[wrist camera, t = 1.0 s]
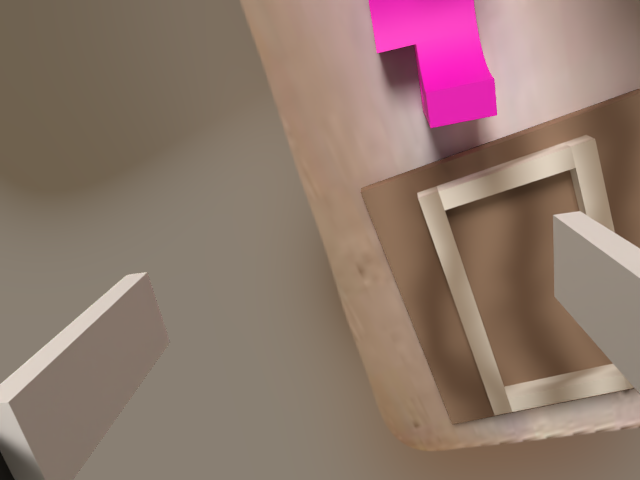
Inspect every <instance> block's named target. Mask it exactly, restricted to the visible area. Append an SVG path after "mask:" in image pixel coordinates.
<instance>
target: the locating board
mask: <svg viewBox="0 0 640 480" xmlns="http://www.w3.org/2000/svg"><path fill="white" fill-rule="evenodd" d="M361 194H362V197H363V199H364V202H365V204H366V207H367V209H368V212H369V214H370V217H371V220H372V222H373V225H374V227H375V230H376V232H377V235H378V237H379V240H380V242H381V245H382V247H383V250H384V252H385V255H386V258H387V260H388V263H389V265H390V268H391V270H392V273H393V275H394V278H395V280H396V283H397V285H398V288H399V290H400V293H401V296H402V298H403V301H404V303H405V306H406V308H407V311H408V313H409V316H410V318H411V321H412V323H413V326H414V329H415V331H416V334H417V336H418V339H419V341H420V344H421V346H422V349H423V351H424V354H425V356H426V359H427V361H428V364H429V367H430V369H431V372H432V374H433V377H434V379H435V382H436V384H437V387H438V389H439V392H440V394H441V397H442V399H443V402H444V405H445V407H446V410H447V412H448V415H449V417H450V420H451V422H452V424H457V423H462V422H467V421H472V420H477V419H482V418H487V417H492V416H497V415H502V414H508V413H513V412H518V411H523V410H528V409H533V408H538V407H543V406H548V405H553V404H558V403H563V402H568V401H573V400H578V399H584V398H589V397H594V396H599V395H604V394H609V393H614V392H619V391H624V390H629V389H634V387H633V386H632V385H631V383H630V382H629V381H628V380H627V379H626V378H625V377H624V375H623V374H622V373H621V372H620V371H619V370H618V369H617V367H616V366H615V365H614V364H613V363H612V362H611V361H610V359H609V358H608V357H607V356H606V355H605V354H604V353H603V351H602V350H601V349H600V348H599V347H598V346H597V345H596V343H595V342H594V341H593V340H592V339H591V338H590V337H589V335H588V334H587V333H586V332H585V331H584V330H583V329H582V327H581V326H580V325H579V324H578V323H577V322H576V321H575V319H574V318H573V317H572V316H571V315H570V314H569V313H568V311H567V310H566V309H565V308H564V307H563V306H562V305H561V303H560V302H559V301H558V300H557V299H556V298H555V297H554V242H553V215H556V214H563V213H570V212H577V211H581V212H582V213H584V214H585V215H587V216H589V217H590V218H592V219H593V220H595V221H597V222H598V223H600V224H601V225H603V226H605V227H606V228H608V229H609V230H611V231H613V232H614V233H616V234H617V235H619V236H621V237H622V238H624V239H625V240H627V241H629V242H630V243H632V244H633V245H635V246H637V247H638V248H640V89H637V90H635V91H632V92H629V93H626V94H623V95H621V96H618V97H615V98H612V99H609V100H607V101H604V102H601V103H598V104H595V105H593V106H590V107H587V108H584V109H581V110H579V111H576V112H573V113H570V114H567V115H565V116H562V117H559V118H556V119H553V120H551V121H548V122H545V123H542V124H539V125H537V126H534V127H531V128H528V129H525V130H523V131H520V132H517V133H514V134H511V135H509V136H506V137H503V138H500V139H497V140H495V141H492V142H489V143H486V144H483V145H481V146H478V147H475V148H472V149H469V150H467V151H464V152H461V153H458V154H455V155H453V156H450V157H447V158H444V159H441V160H439V161H436V162H433V163H430V164H427V165H425V166H422V167H419V168H416V169H413V170H411V171H408V172H405V173H402V174H399V175H397V176H394V177H391V178H388V179H386V180H383V181H380V182H377V183H374V184H372V185H369V186H366V187H363V188H362V189H361Z"/></svg>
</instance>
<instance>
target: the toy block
mask: <svg viewBox="0 0 640 480" xmlns="http://www.w3.org/2000/svg"><path fill="white" fill-rule="evenodd" d="M369 6H370V12H371V18H372V24H373V30H374V37H375V43H376V50H377V53H381V52H385V51H389V50H393V49H398V48H402V47H406V46H410V45H414V47H415V55H416V62H417V69H418V76H419V84H420V91H421V98H422V106H423V112H424V114H425V116H426V119H427V121H428V123H429V126H430V128H434V127H439V126H444V125H449V124H454V123H460V122H465V121H470V120H475V119H480V118H485V117H490V116H495V115H497V107H496V95H495V83H494V78H493V77H492V75H491V74H490V72H489V70H488V67H487V65H486V62H485V59H484V55H483V52H482V48H481V43H480V39H479V33H478V28H477V22H476V15H475V8H474V0H369Z"/></svg>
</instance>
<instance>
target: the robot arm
mask: <svg viewBox="0 0 640 480" xmlns="http://www.w3.org/2000/svg"><path fill="white" fill-rule="evenodd" d="M553 242H554V297H555V298H556V299H557V300H558V301H559V302H560V303H561V305H562V306H563V307H564V308H565V309H566V310H567V311H568V313H569V314H570V315H571V316H572V317H573V318H574V319H575V321H576V322H577V323H578V324H579V325H580V326H581V327H582V329H583V330H584V331H585V332H586V333H587V334H588V335H589V337H590V338H591V339H592V340H593V341H594V342H595V343H596V345H597V346H598V347H599V348H600V349H601V350H602V351H603V353H604V354H605V355H606V356H607V357H608V358H609V359H610V361H611V362H612V363H613V364H614V365H615V366H616V367H617V369H618V370H619V371H620V372H621V373H622V374H623V375H624V377H625V378H626V379H627V380H628V381H629V382H630V383H631V385H632V386H633V387H634V388H635V389H636V390H637V391H638V393H639V394H640V248H638V247H637V246H635V245H633V244H632V243H630V242H629V241H627V240H625V239H624V238H622V237H621V236H619V235H617V234H616V233H614V232H613V231H611V230H609V229H608V228H606V227H605V226H603V225H601V224H600V223H598V222H597V221H595V220H593V219H592V218H590V217H589V216H587V215H585V214H584V213H582V212H581V211H577V212H570V213H563V214H556V215H553ZM169 343H170V340H169V337H168V334H167V331H166V328H165V325H164V322H163V319H162V315H161V312H160V309H159V306H158V303H157V300H156V297H155V294H154V291H153V288H152V285H151V282H150V279H149V276H148V273H147V272H145V273H138V274H131V275H126V276H125V277H124V278H123V279H121V280H120V281H119V282H118V283H117V284H116V285H114V286H113V287H112V288H111V289H110V290H109V291H108V292H107V293H105V294H104V295H103V296H102V297H101V298H99V299H98V300H97V301H96V302H95V303H94V304H92V306H90V307H89V308H88V309H87V310H86V311H84V312H83V313H82V314H81V315H80V316H79V317H78V318H76V319H75V320H74V321H73V322H72V323H71V324H69V325H68V326H67V327H66V328H65V329H64V330H62V331H61V332H60V333H59V334H58V335H57V336H56V337H54V338H53V339H52V340H51V341H50V342H49V343H48V344H46V345H45V346H44V347H43V348H42V349H40V350H39V351H38V352H37V353H36V354H35V355H34V356H32V357H31V358H30V359H29V360H28V361H27V362H25V364H23V365H22V366H21V367H20V368H18V369H17V370H16V371H15V372H14V373H13V374H12V375H10V376H9V377H8V378H7V379H6V380H5V381H3V382H2V383H1V384H0V480H73V479H74V478H75V476H76V475H77V474H78V472H79V471H80V469H81V468H82V466H83V465H84V464H85V462H86V461H87V459H88V458H89V457H90V455H91V454H92V452H93V451H94V449H95V448H96V447H97V445H98V444H99V442H100V441H101V439H102V438H103V437H104V435H105V434H106V432H107V431H108V430H109V428H110V427H111V425H112V424H113V422H114V421H115V419H116V418H117V417H118V415H119V414H120V412H121V411H122V410H123V408H124V407H125V405H126V404H127V403H128V401H129V400H130V398H131V397H132V396H133V394H134V393H135V391H136V390H137V388H138V387H139V386H140V384H141V383H142V381H143V380H144V379H145V377H146V376H147V374H148V373H149V371H150V370H151V369H152V367H153V365H154V364H155V363H156V361H157V360H158V359H159V357H160V356H161V354H162V353H163V352H164V350H165V349H166V347H167V346H168V344H169Z"/></svg>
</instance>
